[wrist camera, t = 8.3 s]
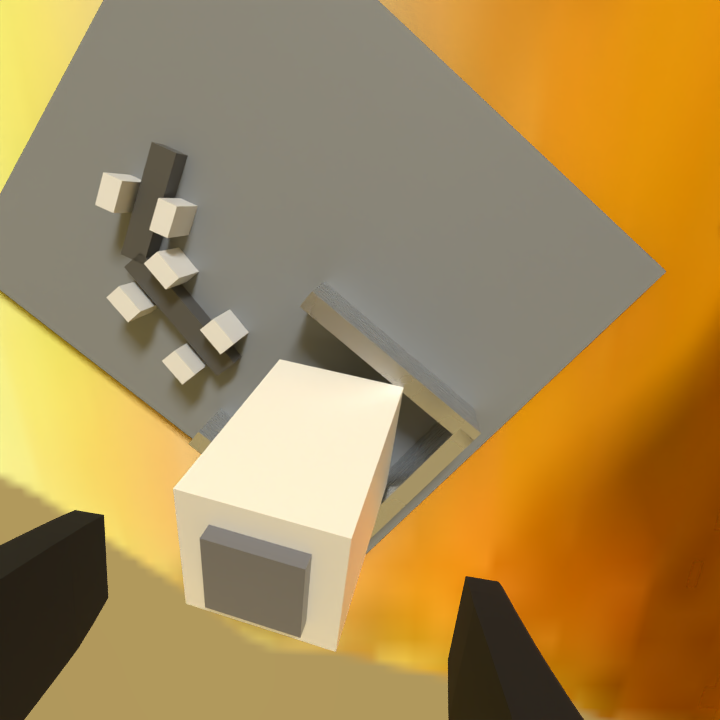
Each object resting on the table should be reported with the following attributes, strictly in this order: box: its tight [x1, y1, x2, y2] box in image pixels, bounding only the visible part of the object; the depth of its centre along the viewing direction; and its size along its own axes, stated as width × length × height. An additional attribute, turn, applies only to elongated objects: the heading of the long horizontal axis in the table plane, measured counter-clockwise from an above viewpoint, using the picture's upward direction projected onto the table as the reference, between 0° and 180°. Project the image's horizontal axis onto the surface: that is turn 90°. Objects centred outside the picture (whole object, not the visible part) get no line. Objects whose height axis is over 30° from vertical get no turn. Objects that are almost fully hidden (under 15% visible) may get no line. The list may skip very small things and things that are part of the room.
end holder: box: [189, 282, 481, 539], centre depth 17 cm, size 7×7×2 cm
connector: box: [173, 359, 404, 652], centre depth 14 cm, size 4×4×6 cm
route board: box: [0, 0, 666, 555], centre depth 16 cm, size 18×15×2 cm
